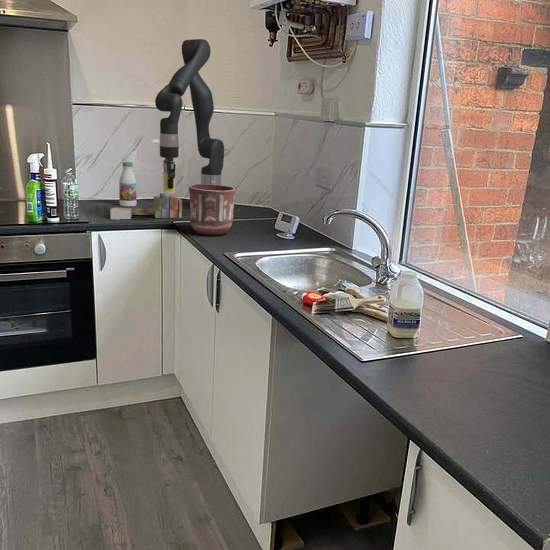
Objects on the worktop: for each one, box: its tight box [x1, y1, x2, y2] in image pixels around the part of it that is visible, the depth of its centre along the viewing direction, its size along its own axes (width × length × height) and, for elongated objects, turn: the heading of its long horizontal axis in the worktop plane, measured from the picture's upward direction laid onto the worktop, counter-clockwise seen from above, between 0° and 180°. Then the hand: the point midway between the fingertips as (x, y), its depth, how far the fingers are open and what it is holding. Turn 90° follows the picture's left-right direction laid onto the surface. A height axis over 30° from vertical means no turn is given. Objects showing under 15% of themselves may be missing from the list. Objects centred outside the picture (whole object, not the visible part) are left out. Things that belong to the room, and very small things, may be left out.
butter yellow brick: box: [162, 171, 176, 194], centre depth 233 cm, size 4×5×8 cm
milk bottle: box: [118, 161, 137, 208], centre depth 264 cm, size 8×8×20 cm
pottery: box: [188, 183, 237, 237], centre depth 222 cm, size 18×18×18 cm
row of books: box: [109, 192, 183, 219], centre depth 243 cm, size 30×8×10 cm, turn 110°
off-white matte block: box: [110, 207, 133, 220], centre depth 239 cm, size 8×6×4 cm
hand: (169, 187), depth 233 cm, fingers closed on butter yellow brick, 5 cm apart
